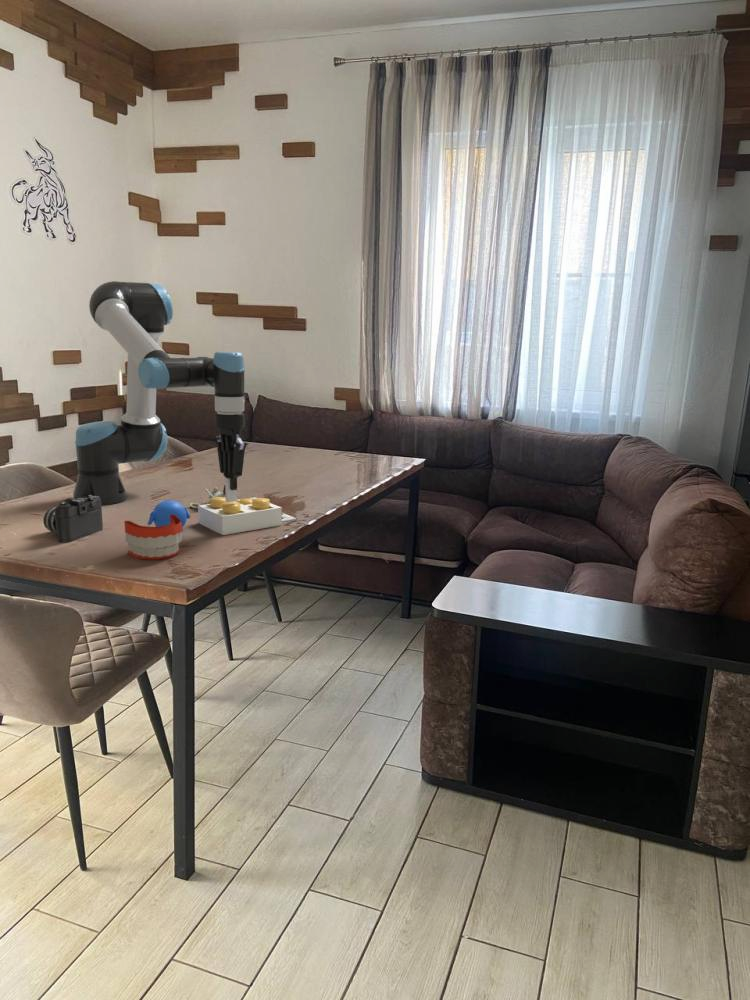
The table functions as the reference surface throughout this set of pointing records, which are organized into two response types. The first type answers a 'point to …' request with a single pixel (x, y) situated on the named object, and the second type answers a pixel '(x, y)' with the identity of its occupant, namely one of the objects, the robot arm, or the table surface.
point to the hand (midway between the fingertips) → (231, 501)
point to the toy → (154, 539)
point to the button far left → (217, 502)
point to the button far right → (245, 501)
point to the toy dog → (211, 496)
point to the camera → (75, 518)
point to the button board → (239, 518)
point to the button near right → (260, 503)
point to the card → (287, 518)
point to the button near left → (231, 508)
